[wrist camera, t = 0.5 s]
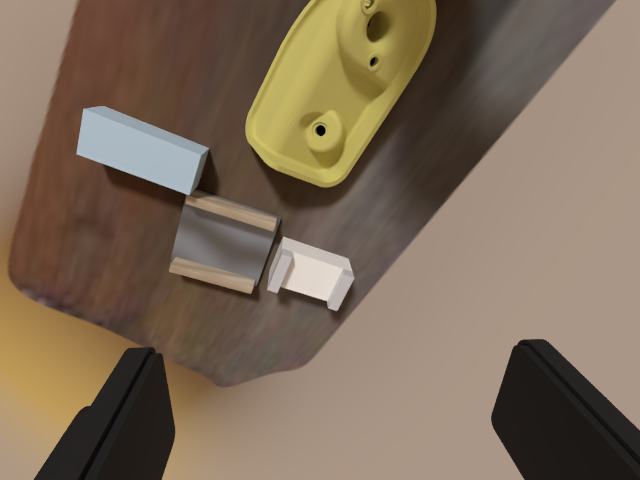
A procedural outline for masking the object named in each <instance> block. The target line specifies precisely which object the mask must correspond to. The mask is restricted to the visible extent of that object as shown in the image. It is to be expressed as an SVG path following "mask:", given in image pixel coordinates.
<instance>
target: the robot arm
mask: <svg viewBox="0 0 640 480" xmlns="http://www.w3.org/2000/svg"><path fill="white" fill-rule="evenodd" d="M491 421H492V425H493V428H494V430H495V432H496V433H497V435H498V437H499V438H500V440H501V442H502V443H503V445H504V447H505V448H506V450H507V452H508V453H509V455H510V456H511V458H512V460H513V461H514V463H515V465H516V466H517V468H518V470H519V471H520V473H521V475H522V476H523V478H524V479H525V480H640V430H639V429H637V428H636V426H635V425H634V424H632V423H631V422H630V421H629V420H628V419H627V418H626V417H625V416H624V415H623V414H622V413H621V412H620V411H619V410H618V409H617V408H616V407H615V406H614V405H613V404H612V403H611V402H610V401H609V400H608V399H607V398H606V397H604V396H603V394H602V393H600V392H599V391H598V390H597V389H596V388H595V387H594V386H593V385H592V384H591V383H590V382H589V381H588V380H587V379H586V378H585V377H584V376H583V375H582V374H581V373H580V372H579V371H578V370H577V369H576V368H575V367H574V366H573V365H572V364H571V363H569V362H568V361H567V360H566V359H565V358H564V357H563V356H562V355H561V354H560V353H559V352H558V351H557V350H556V349H555V348H554V347H553V346H552V345H551V344H550V343H549V342H547V341H546V340H542V339H531V340H521V341H520V342H519V343H518V344H517V345H516V346H514V347H513V350H512V352H511V356H510V359H509V362H508V365H507V368H506V371H505V375H504V378H503V381H502V384H501V387H500V391H499V393H498V396H497V399H496V403H495V406H494V409H493V412H492V416H491ZM174 438H175V425H174V419H173V413H172V408H171V401H170V396H169V390H168V384H167V378H166V373H165V367H164V360H163V356H162V354H161V353H156V351H155V349H154V348H152V347H147V348H128V349H127V350H126V351H125V352H124V354H123V355H122V357H121V359H120V360H119V362H118V363H117V365H116V367H115V368H114V370H113V371H112V373H111V374H110V376H109V378H108V379H107V381H106V382H105V384H104V385H103V387H102V389H101V390H100V392H99V393H98V395H97V397H96V398H95V400H94V401H93V403H92V404H91V406H86V407H84V408H83V409H82V410H80V411H79V413H78V414H77V415H76V416H75V418H74V419H73V421H72V422H71V424H70V425H69V427H68V428H67V430H66V431H65V433H64V434H63V436H62V437H61V439H60V441H59V442H58V444H57V445H56V447H55V448H54V450H53V451H52V453H51V454H50V456H49V457H48V459H47V460H46V462H45V463H44V465H43V466H42V468H41V469H40V471H39V472H38V474H37V475H36V477H35V478H34V480H162V477H163V473H164V470H165V467H166V464H167V461H168V458H169V455H170V452H171V449H172V446H173V443H174Z"/></svg>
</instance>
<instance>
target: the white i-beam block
mask: <svg viewBox="0 0 640 480" xmlns="http://www.w3.org/2000/svg"><path fill="white" fill-rule="evenodd" d="M353 280H354V275H353V272H352V269H351V265H350V262H349V259H347V258H344V257H341V256H339V255H336V254H333V253H330V252H327V251H324V250H321V249H318V248H315V247H312V246H309V245H306V244H303V243H300V242H297V241H294V240H291V239H288V238H286V237H283V238H282V240H281V243H280V245H279V248H278V250H277V253H276V255H275V258H274V260H273V263H272V265H271V268H270V272H269V280H268V288H267V290H269V291H272V292H276V293H278V290H279V288H280V287H282V288H286V289H289V290H292V291H296V292H299V293H302V294H305V295H309V296H312V297H315V298H318V299H322V300H325V301H327V305H328V308H329V309H332V310H335V311H338V309H339V307H340V305H341V303H342V301H343V299H344V297H345V295H346V293H347V291H348V289H349V287H350V286H351V284H352V282H353Z"/></svg>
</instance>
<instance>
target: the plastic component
mask: <svg viewBox="0 0 640 480" xmlns="http://www.w3.org/2000/svg"><path fill="white" fill-rule="evenodd" d="M370 18H371V22H370V25H369V27H368V29H367V25H368V22H369V20H370ZM435 23H436V2H435V0H371V1H370V0H311V1H310V2H309V3H308V5H307V6H306V7H305V8H304V10H303V11H302V12H301V14H300V15H299V17H298V18H297V19H296V21H295V22H294V24H293V26H292V27H291V29H290V30H289V32H288V34H287V35H286V37H285V39H284V41H283V42H282V44H281V46H280V48H279V50H278V52H277V55H276V57H275V59H274V61H273V63H272V65H271V67H270V69H269V71H268V73H267V75H266V77H265V80H264V82H263V84H262V86H261V88H260V90H259V92H258V94H257V96H256V98H255V100H254V102H253V105H252V107H251V109H250V111H249V113H248V116H247V120H246V137H247V140H248V142H249V143H250V145H251V146H252V147H253V148H254V150H255V151H256V152H257V153H258V154H259V156H260V157H261V158H262V159H263V161H264V162H265V163H266V164H267V165H269V166H270V167H271V168H273V169H275V170H277V171H280V172H282V173H285V174H288V175H290V176H293V177H296V178H298V179H301V180H304V181H306V182H309V183H312V184H315V185H317V186H320V187H332V186H335V185H337V184H339V183H340V182H341V181H343V180H344V179H345V178H346V177H347V175H348V174H349V172H350V171H351V169H352V168H353V166H354V165H355V163H356V162H357V160H358V159H359V157H360V156H361V154H362V153H363V151H364V150H365V148H366V147H367V145H368V144H369V142H370V141H371V139H372V137H373V136H374V134H375V133H376V131H377V130H378V128H379V127H380V125H381V124H382V122H383V121H384V119H385V118H386V116H387V115H388V113H389V112H390V110H391V109H392V107H393V106H394V104H395V103H396V101H397V100H398V98H399V96H400V95H401V93H402V92H403V90H404V89H405V87H406V86H407V84H408V83H409V81H410V79H411V78H412V76H413V75H414V73H415V72H416V70H417V68H418V66H419V65H420V63H421V61H422V59H423V58H424V56H425V54H426V52H427V50H428V47H429V45H430V43H431V40H432V37H433V33H434V29H435ZM373 57H375V62H374V64H373V65H371V66H370V60H371V59H372V58H373ZM319 125H323V126H324V127H325V129H326V132H325V134H324V135H323V136H319V135H318V134H317V131H316V130H317V127H318V126H319Z"/></svg>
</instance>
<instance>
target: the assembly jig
mask: <svg viewBox="0 0 640 480" xmlns="http://www.w3.org/2000/svg"><path fill="white" fill-rule="evenodd" d="M280 220H281V217H279V216H276V215H273V214H270V213H267V212H264V211H261V210H258V209H255V208H252V207H249V206H246V205H243V204H240V203H237V202H234V201H230V200H227V199H224V198H221V197H218V196H215V195H212V194H209V193H206V192H203V191H200V190H197V189H195V190H194V191H193V192H192V193H191V194H190V195H187V194H186V198H185V202H184V206H183V210H182V214H181V219H180V223H179V227H178V231H177V235H176V239H175V244H174V248H173V252H172V256H171V260H170V262H171V265H170V269H169V272H172V273H176V274H180V275H183V276H187V277H191V278H194V279H198V280H202V281H205V282H209V283H212V284H216V285H220V286H223V287H227V288H231V289H234V290H238V291H242V292H245V293H249V294H251V293H252V290H253V287H254V286H257V283H258V281H259V278H260V275H261V272H262V270H263V267H264V264H265V261H266V259H267V256H268V253H269V250H270V248H271V245H272V242H273V239H274V237H275V234H276V231H277V228H278V226H279V223H280Z"/></svg>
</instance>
